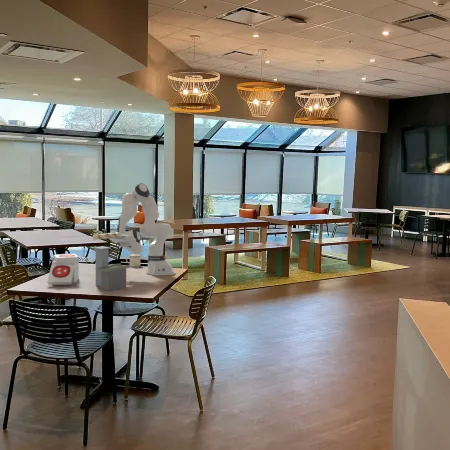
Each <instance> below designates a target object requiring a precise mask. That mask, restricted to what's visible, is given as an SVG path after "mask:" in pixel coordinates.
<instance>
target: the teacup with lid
mask: <svg viewBox="0 0 450 450" xmlns="http://www.w3.org/2000/svg"><path fill="white" fill-rule="evenodd" d="M128 259H129V261H128ZM125 262H126V263H128V264H129V265H130V268H131V267H132V268H139V267H141V254H138V255H135V254H132V253H131V254H129V256H128V257H127V258H125Z"/></svg>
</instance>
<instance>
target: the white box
mask: <svg viewBox="0 0 450 450" xmlns="http://www.w3.org/2000/svg"><path fill="white" fill-rule="evenodd" d="M79 258H80V257H79V256H78V254H76V253H62V254H61V253H60V254H53V261H52V262H51V263H52V264H51V266H50V270H49V274H48V277H47V284H48V286H50V285H52V286H53V285H58V286H59V285H61V286H62V285H66V286H70V285H72V284H75V283H76V282H77V281H78V280H79V278H80V272H79V269H80V268H79V267H80V265H79V264H80V263H79V262H80V261H79V260H80V259H79Z"/></svg>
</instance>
